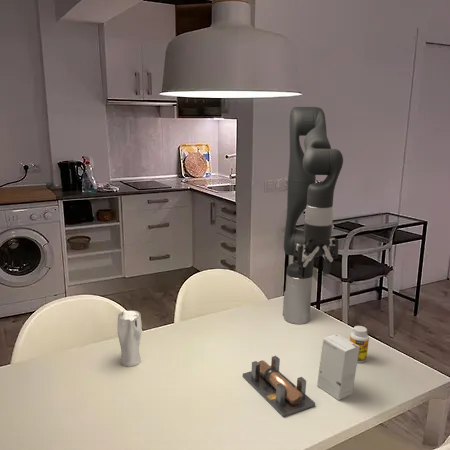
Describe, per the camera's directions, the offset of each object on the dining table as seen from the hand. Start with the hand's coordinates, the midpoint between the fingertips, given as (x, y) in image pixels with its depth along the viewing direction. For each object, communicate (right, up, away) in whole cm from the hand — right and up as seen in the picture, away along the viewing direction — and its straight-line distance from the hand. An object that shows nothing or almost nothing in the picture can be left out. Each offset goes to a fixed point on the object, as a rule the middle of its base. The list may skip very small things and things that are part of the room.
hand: (314, 275), depth 133 cm
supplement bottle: (+15, -27, +11) cm, 33 cm away
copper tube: (-12, -29, -7) cm, 33 cm away
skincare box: (+5, -31, -6) cm, 32 cm away
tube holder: (-12, -31, -7) cm, 33 cm away
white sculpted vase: (-54, -26, +6) cm, 60 cm away
